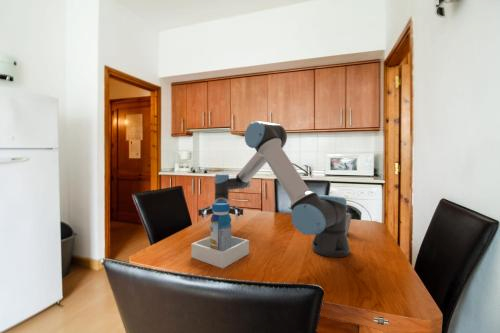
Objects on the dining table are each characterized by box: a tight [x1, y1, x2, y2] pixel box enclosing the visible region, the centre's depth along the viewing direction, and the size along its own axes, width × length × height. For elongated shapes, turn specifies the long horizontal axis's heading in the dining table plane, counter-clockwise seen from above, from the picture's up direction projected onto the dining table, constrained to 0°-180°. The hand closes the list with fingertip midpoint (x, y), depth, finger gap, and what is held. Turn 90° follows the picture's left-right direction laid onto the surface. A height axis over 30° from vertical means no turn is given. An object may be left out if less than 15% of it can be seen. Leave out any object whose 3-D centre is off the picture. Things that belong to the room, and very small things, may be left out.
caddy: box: [190, 235, 250, 269], centre depth 98 cm, size 16×16×6 cm
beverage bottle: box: [209, 201, 233, 252], centre depth 98 cm, size 8×8×20 cm
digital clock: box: [346, 212, 352, 236], centre depth 130 cm, size 16×9×11 cm, turn 28°
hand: (220, 216), depth 105 cm, fingers open, 13 cm apart
